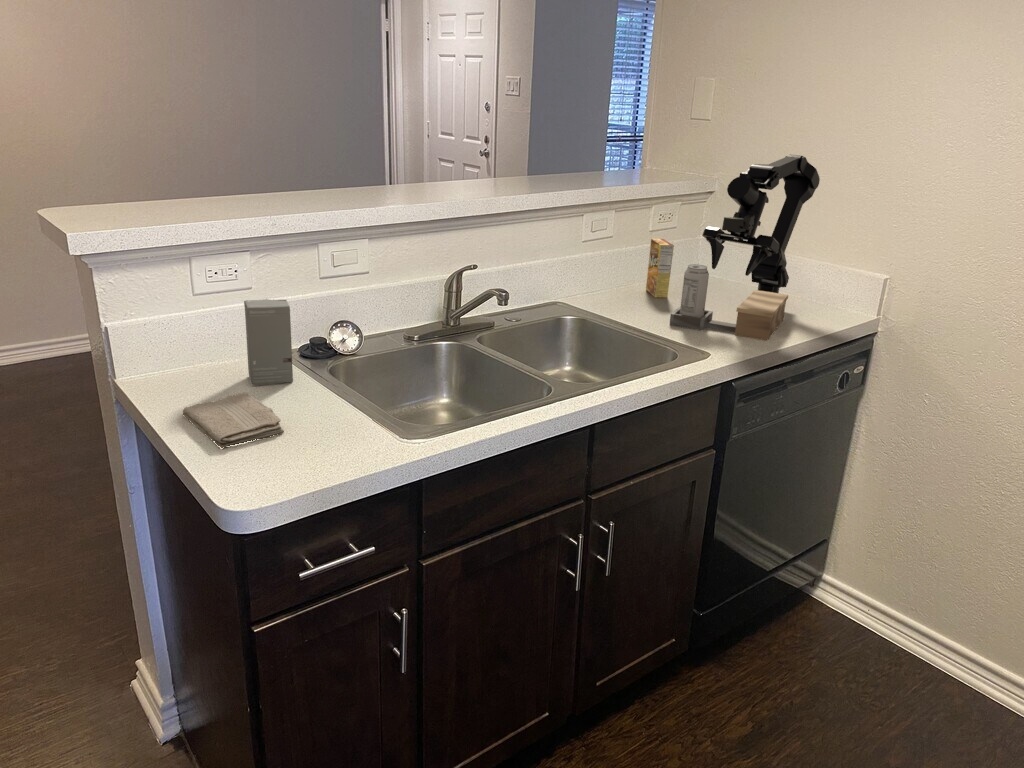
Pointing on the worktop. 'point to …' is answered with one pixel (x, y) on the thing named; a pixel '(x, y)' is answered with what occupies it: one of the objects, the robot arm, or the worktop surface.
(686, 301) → the energy drink can
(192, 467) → the worktop surface
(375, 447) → the worktop surface
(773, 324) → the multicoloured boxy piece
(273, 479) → the worktop surface
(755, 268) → the robot arm
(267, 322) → the skincare box
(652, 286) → the candy box
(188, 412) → the washcloth
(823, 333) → the worktop surface
